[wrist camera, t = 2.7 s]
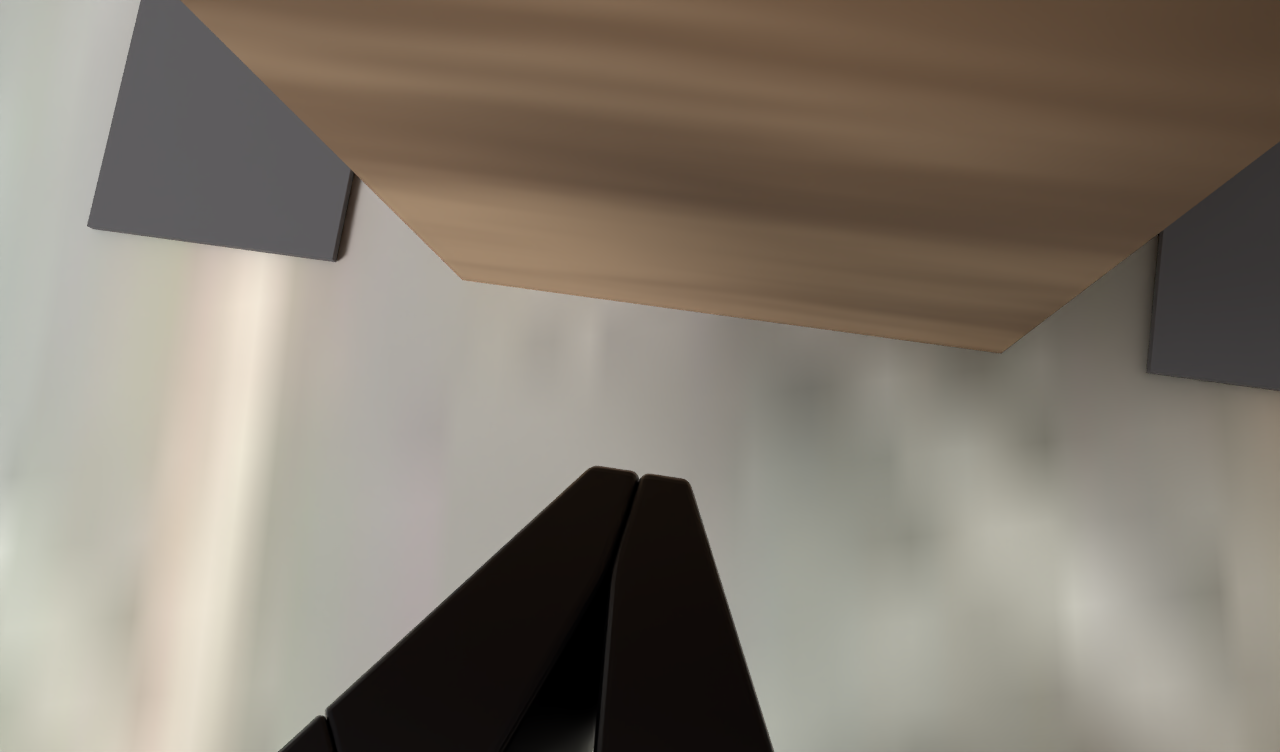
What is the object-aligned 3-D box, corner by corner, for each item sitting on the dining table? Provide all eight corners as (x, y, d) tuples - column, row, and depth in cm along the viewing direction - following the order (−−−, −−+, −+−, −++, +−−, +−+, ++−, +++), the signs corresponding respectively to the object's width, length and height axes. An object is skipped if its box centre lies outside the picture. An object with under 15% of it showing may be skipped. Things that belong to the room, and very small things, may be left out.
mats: (1447, 413, 19) (1455, 412, 19) (92, 228, 22) (86, 225, 22) (1471, -18, 20) (1477, -24, 20) (181, -142, 23) (176, -149, 23)
